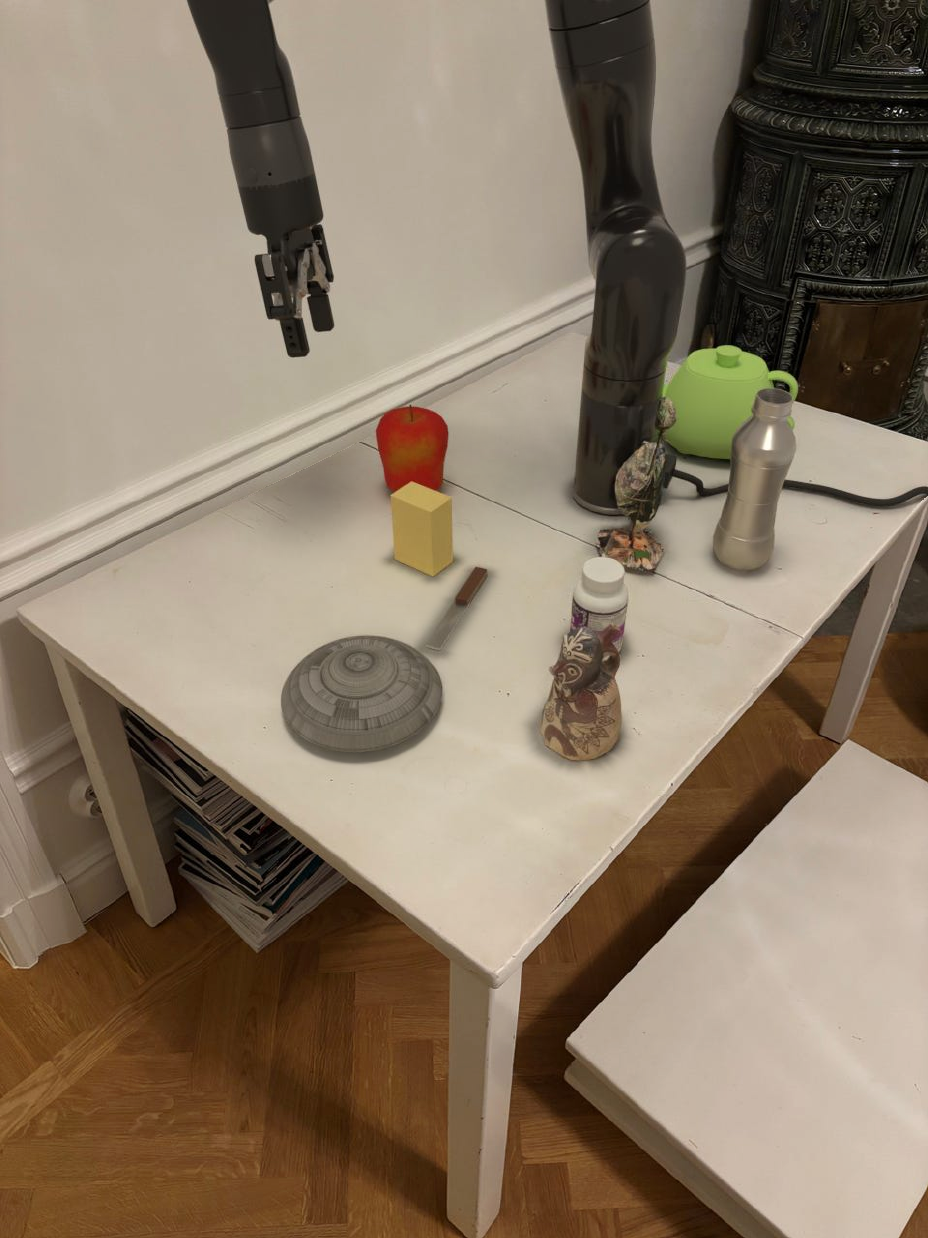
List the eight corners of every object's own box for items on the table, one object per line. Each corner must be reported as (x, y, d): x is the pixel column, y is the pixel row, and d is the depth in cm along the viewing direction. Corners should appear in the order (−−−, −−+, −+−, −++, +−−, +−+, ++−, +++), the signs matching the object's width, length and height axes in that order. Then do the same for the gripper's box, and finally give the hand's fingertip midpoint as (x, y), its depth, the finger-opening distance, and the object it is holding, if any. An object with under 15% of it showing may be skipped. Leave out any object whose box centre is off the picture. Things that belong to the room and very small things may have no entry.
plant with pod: (676, 529, 111) (702, 369, 98) (652, 583, 102) (678, 416, 90) (609, 514, 113) (626, 357, 100) (581, 566, 105) (596, 401, 92)
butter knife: (474, 572, 104) (474, 565, 104) (488, 575, 104) (488, 569, 103) (425, 647, 95) (425, 640, 94) (440, 650, 94) (439, 644, 94)
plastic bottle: (736, 584, 102) (773, 417, 89) (697, 552, 107) (726, 389, 94) (781, 568, 104) (824, 402, 92) (741, 537, 109) (776, 376, 96)
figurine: (531, 710, 88) (536, 610, 80) (603, 698, 89) (615, 598, 81) (554, 767, 82) (562, 665, 75) (630, 753, 83) (646, 651, 76)
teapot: (613, 456, 124) (623, 362, 116) (631, 405, 135) (641, 316, 127) (786, 480, 119) (809, 383, 110) (790, 425, 130) (811, 334, 122)
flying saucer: (381, 788, 81) (376, 744, 77) (249, 722, 87) (239, 678, 83) (472, 685, 90) (472, 641, 87) (348, 632, 97) (343, 590, 93)
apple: (371, 504, 115) (363, 416, 108) (393, 470, 121) (387, 385, 114) (438, 514, 113) (435, 425, 106) (457, 479, 120) (455, 393, 112)
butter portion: (414, 544, 109) (411, 480, 103) (453, 561, 106) (451, 497, 100) (394, 559, 106) (390, 495, 101) (433, 577, 104) (430, 511, 98)
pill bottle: (564, 629, 97) (570, 553, 90) (615, 626, 97) (625, 550, 91) (573, 665, 92) (580, 587, 86) (627, 661, 93) (637, 584, 87)
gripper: (287, 183, 83) (326, 362, 92) (334, 158, 95) (364, 319, 104) (209, 193, 85) (255, 368, 94) (265, 167, 97) (300, 325, 105)
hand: (312, 342), depth 99 cm, fingers open, 8 cm apart
